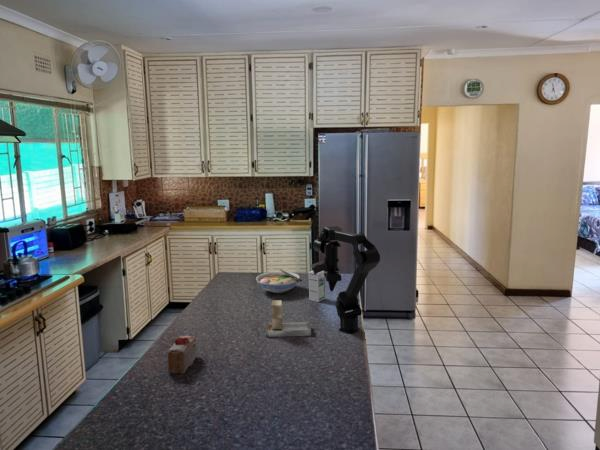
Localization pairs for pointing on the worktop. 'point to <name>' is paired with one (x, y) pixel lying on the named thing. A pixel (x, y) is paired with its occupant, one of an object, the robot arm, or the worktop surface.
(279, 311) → the lever
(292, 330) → the fader track
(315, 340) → the worktop surface
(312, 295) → the syrup box
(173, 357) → the food item
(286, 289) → the ramen bowl
